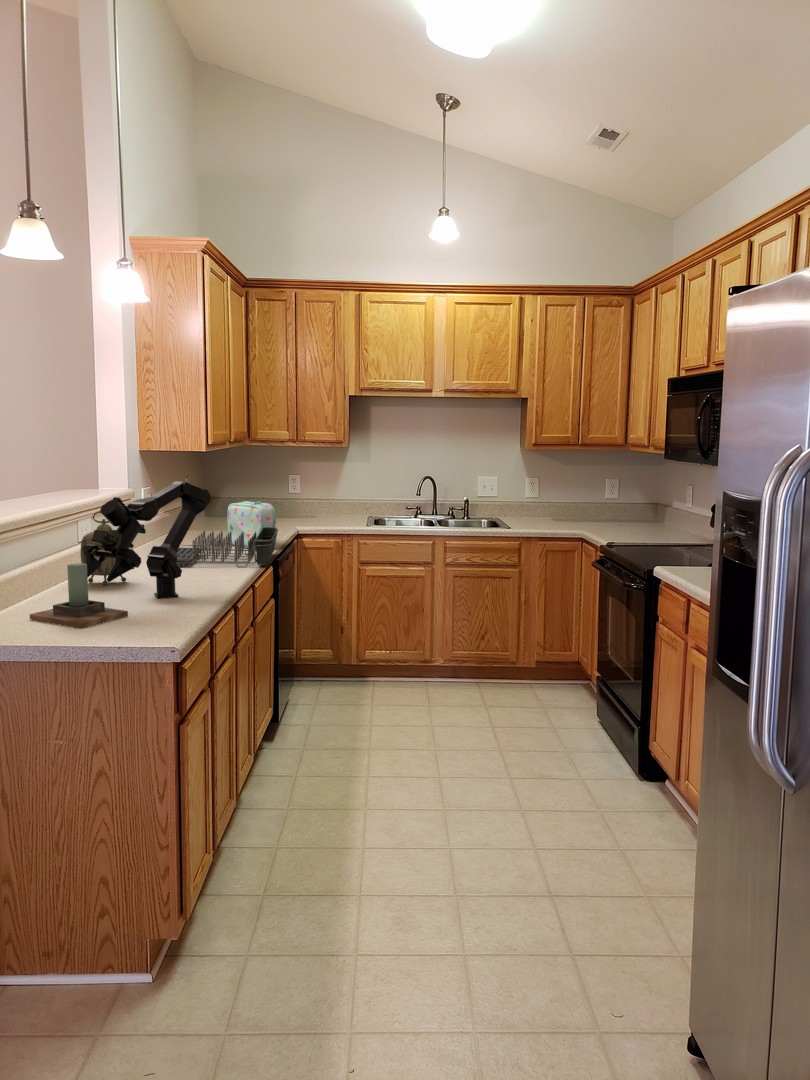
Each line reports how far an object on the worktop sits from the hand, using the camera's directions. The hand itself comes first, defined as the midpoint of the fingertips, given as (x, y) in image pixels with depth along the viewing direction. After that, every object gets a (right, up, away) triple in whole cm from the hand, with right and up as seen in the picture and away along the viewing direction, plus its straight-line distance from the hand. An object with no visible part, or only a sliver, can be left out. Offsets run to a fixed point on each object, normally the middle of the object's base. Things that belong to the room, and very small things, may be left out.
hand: (96, 579), depth 219 cm
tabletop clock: (-14, -4, +43) cm, 45 cm away
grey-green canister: (-3, -9, -4) cm, 10 cm away
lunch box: (+19, +8, +130) cm, 131 cm away
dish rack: (+13, +2, +92) cm, 93 cm away
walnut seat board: (-3, -11, -4) cm, 12 cm away
